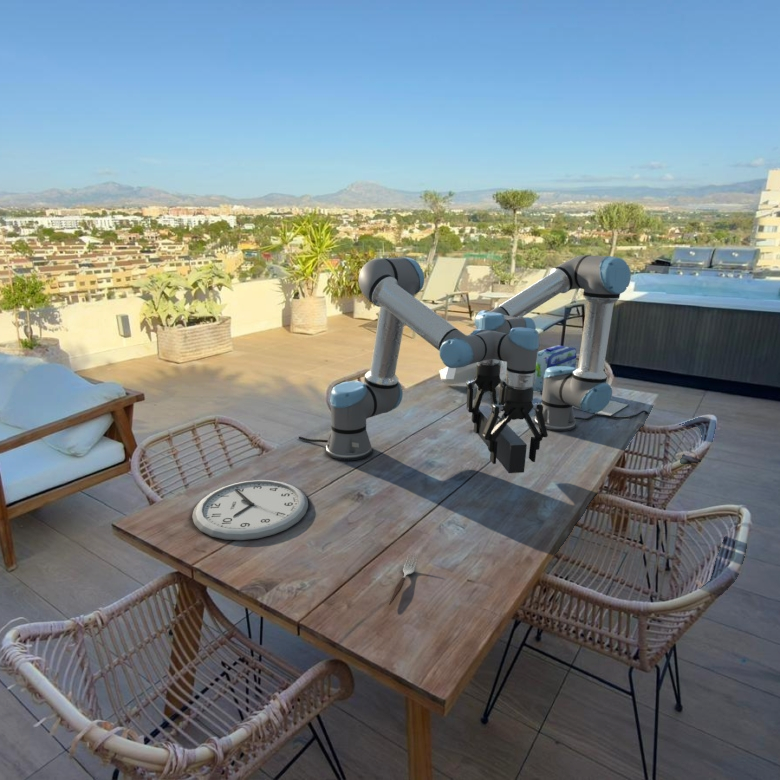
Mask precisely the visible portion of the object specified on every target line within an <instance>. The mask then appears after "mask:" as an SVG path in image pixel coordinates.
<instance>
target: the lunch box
mask: <svg viewBox="0 0 780 780" xmlns="http://www.w3.org/2000/svg"><path fill="white" fill-rule="evenodd" d="M576 362H577V348H576V347H571V346H565V345H553V346H550V347H546V348H545V349H542V350H539V351H538V352H537V360H536V370H535V381H534V386H533V389H534V392H537V393H541V394H542V390H543V378H544V375H545V370H546V369H547V368H549V367H555V366H568V367H575V368H576V364H577V363H576Z"/></svg>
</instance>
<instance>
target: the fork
mask: <svg viewBox="0 0 780 780" xmlns="http://www.w3.org/2000/svg"><path fill="white" fill-rule="evenodd" d="M415 556H416V555H414V556H413V554H411V555H410V554H408V555H407V558H406V560H405V563H404V565H403V568H402V572H403V576H402V578H401V579H400V581H398V583H397V584H396V586H395V588H394V591H393V593H392V596H391V598H390V600H389V603H388V605H389V606H391V605H392V603H393V602H394V600H395V599H396V597H397V596H398V594H399V593H400V592H401V590H402V588H403V585H404V583H405V580H406V577H407V576H409V575H411V574H413V573H415V571H416V567H417V562H418V559H419V556H416V557H415ZM409 557H410V558H409ZM412 557H413V560H412ZM415 558H416V559H415ZM411 561H412V562H411ZM414 562H415V563H414Z"/></svg>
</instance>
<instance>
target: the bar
mask: <svg viewBox="0 0 780 780" xmlns="http://www.w3.org/2000/svg"><path fill="white" fill-rule="evenodd" d="M491 412H492V406H490V405H489V404H486V405H485V404H484V405H481V404H480V406H479V410H478V413H479V414H480V417H479V431H478V433H476V434H477V435H478V437H479V438H480V439H481V440H482V441H483V443H484V444H485V445H486V447H488V440H485V438H484V437H483V436H482V433H483V431H484V429H485V426H486V424H487V421H488V419H489V417H490V414H491ZM500 419H501V417H500V415H498V418H497V421H496V423H495V425H494V427H495V426H496V424H497V423H498V422H499V420H500ZM493 429H494V428H493ZM496 441H497V442H498V443H497V455H496V460H498V462H499V463H500V464H501V465H502V466H503V468H504V470H506V472H507V473H508V474H519V473H522V474H523V473H525V468H526V467H525V465H526V457H527V446H528V444H527V443H526V442H525V441H524V440H523V439H522V438H521V437H520V436H519V435H518V434H517V433H516V432H515V431H514V430H513V429H512V427H510V426H509V425H508V424H507V425H506V426H505V427H504V429H503V430H502V431H501V433H500V434H499V436H498V437H497V438H496Z"/></svg>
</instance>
